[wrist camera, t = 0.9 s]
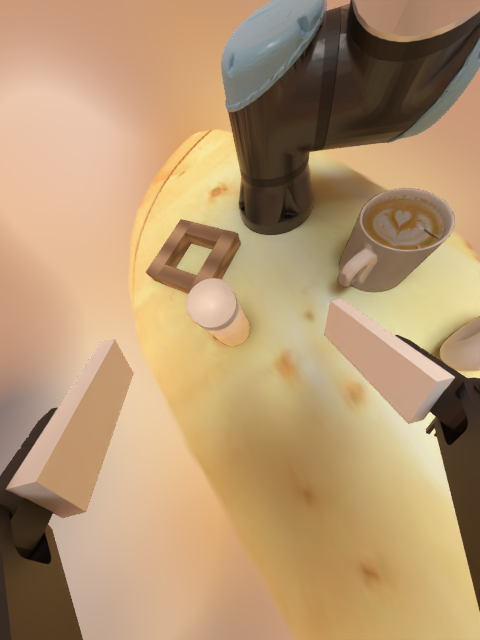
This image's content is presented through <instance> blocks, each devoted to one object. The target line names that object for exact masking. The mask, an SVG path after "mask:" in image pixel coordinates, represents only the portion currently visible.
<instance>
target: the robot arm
mask: <svg viewBox="0 0 480 640" xmlns="http://www.w3.org/2000/svg"><path fill="white" fill-rule="evenodd" d="M326 6H327V1H326V0H272V1H270V2H269V3H267V4H266V5H264V6H263V7H261V8H260V9H258V10H257V11H256V12H254V13H253V14H252V15H251V16H249V17H248V18H247V19H246V20H245V21H244V22H243V23H242V24H241V25H240V26H239V27H238V28H237V29H236V30H235V31H234V33H233V34H232V35H231V37H230V38H229V40H228V42H227V44H226V46H225V49H224V51H223V55H222V63H221V68H222V76H223V83H224V89H225V95H226V108H227V110H228V112H229V117H230V122H231V127H232V132H233V137H234V142H235V147H236V152H237V157H238V162H239V166H240V171H241V186H240V196H239V210H240V214H241V218H242V220H243V222H244V223H245V225H246V226H247V227H248V228H250V229H251V230H253V231H255V232H258V233H262V234H279V233H284V232H287V231H289V230H292V229H294V228H296V227H297V226H299V225H300V224H301V223H303V222H304V221H305V220H306V218H307V217H308V216H309V214H310V212H311V210H312V207H313V200H314V187H313V183H312V178H311V173H310V169H309V164H308V160H309V152H312V151H319V150H327V149H335V148H342V147H352V146H360V145H368V144H376V143H385V142H386V143H389V142H393V141H395V140H397V139H401V138H406V137H410V136H414V135H417V134H419V133H421V132H423V131H425V130H426V129H428V128H429V127H431V126H432V125H433V124H435V123H436V122H437V121H438V120H439V119H440V118H441V117H442V116H443V115H444V114H445V113H446V112H447V111H448V110H449V109H450V108H451V107H452V106H453V104H454V103H455V102H456V101H457V100H458V98H459V97H460V96H461V94H462V93H463V92H464V90H465V89H466V88H467V86H468V85H469V83H470V82H471V80H472V79H473V77H474V76H475V74H476V72H477V71H478V69H479V67H480V0H351V1H350V4H347V5H344V6H341V7H338V8H335V9H332V10H328V11H326ZM324 335H325V336H326V337H327V338H328V339H329V340H330V342H331V343H332V344H333V345H334V346H335V347H336V348H337V349H338V350H339V351H340V352H341V353H342V354H343V355H344V356H345V357H346V358H347V360H348V361H349V362H350V363H351V364H352V365H353V366H354V367H355V368H356V369H357V370H358V371H359V372H360V373H361V374H362V375H363V376H364V378H365V379H366V380H367V381H368V382H369V383H370V384H371V385H372V386H373V387H374V388H375V389H376V390H377V391H378V392H379V393H380V394H381V396H382V397H383V398H384V399H385V400H386V401H387V402H388V403H389V404H390V405H391V406H392V407H393V408H394V409H395V410H396V411H397V412H398V414H399V415H400V416H401V417H402V418H403V419H404V420H405V421H406V422H407V423H408V424H409V423H413V422H417V421H420V420H424V418H425V417H426V416H427V414H428V413H429V412H431V413H432V414H433V415H435V416H436V417H435V419H434V420H433V421H432V422H431V424H430V425H429V426H428V427H427V429H426V433H428V434H430V433H431V432H432V430H433V429H434V428H435V430H436V433H435V434H434V436H436V437H437V439H438V443H439V447H440V451H441V455H442V459H443V463H444V467H445V471H446V475H447V480H448V484H449V488H450V492H451V496H452V500H453V504H454V508H455V512H456V516H457V520H458V525H459V529H460V533H461V537H462V541H463V545H464V549H465V553H466V557H467V561H468V565H469V569H470V574H471V578H472V582H473V586H474V590H475V594H476V598H477V602H478V606H479V610H480V378H466V377H465V376H463V375H461V374H460V373H458V372H457V371H455V370H454V369H452V368H451V367H449V366H448V365H446V364H445V363H443V362H442V361H440V360H439V359H437V358H436V357H434V356H433V355H431V354H429V353H428V352H427V351H425V350H424V349H421V348H420V347H419V346H418V345H416V344H415V343H413V342H412V341H410V340H408V339H406V338H403V337H401V336H399V335H393V334H392V333H390V332H389V331H388V330H386V329H385V328H383V327H382V326H380V325H379V324H377V323H376V322H374V321H373V320H372V319H370V318H369V317H367V316H366V315H364V314H363V313H361V312H360V311H359V310H357V309H356V308H354V307H353V306H351V305H350V304H348V303H347V302H345V301H344V300H343V299H337V300H332V301H330V306H329V312H328V317H327V323H326V328H325V334H324ZM132 376H133V372H132V370H131V368H130V366H129V364H128V362H127V361H126V359H125V357H124V356H123V353H122V352H121V350H120V348H119V346H118V344H117V343H116V341H115V340H110V341H104V342H100V344H99V345H98V347H97V348H96V350H95V352H94V353H93V354H92V356H91V358H90V359H89V361H88V362H87V364H86V365H85V367H84V368H83V370H82V371H81V373H80V375H79V376H78V378H77V379H76V381H75V382H74V384H73V385H72V387H71V389H70V390H69V392H68V393H67V395H66V396H65V398H64V400H63V401H62V402H61V404H60V406H59V407H58V408H53V409H51V410H50V411H49V412H48V413H47V414H46V415H44V416H43V417H42V418H41V419H40V420H39V421H38V423H37V424H36V425H35V427H34V428H33V430H32V431H31V433H30V434H29V437H28V438H26V440H25V441H24V443H23V444H22V446H21V449H19V450H18V451H17V453H16V454H15V456H14V457H13V459H12V460H11V461H10V463H9V464H8V466H7V467H6V469H5V470H4V471H3V473H2V474H1V476H0V640H83V638H82V635H81V631H80V627H79V624H78V620H77V617H76V613H75V610H74V606H73V603H72V599H71V595H70V592H69V588H68V584H67V581H66V577H65V574H64V570H63V567H62V563H61V559H60V556H59V553H58V549H57V545H56V542H55V538H54V534H53V531H52V529H51V527H50V526H49V525H48V523H49V520H50V518H51V516H52V514H53V513H54V514H56V515H58V516H60V517H62V518H65V517H69V516H72V515H76V514H80V513H83V512H86V510H87V507H88V504H89V502H90V499H91V496H92V493H93V490H94V487H95V484H96V481H97V478H98V475H99V472H100V470H101V466H102V464H103V461H104V458H105V455H106V452H107V449H108V446H109V443H110V440H111V438H112V435H113V432H114V429H115V426H116V423H117V420H118V417H119V414H120V411H121V408H122V405H123V402H124V400H125V397H126V394H127V391H128V388H129V385H130V382H131V379H132Z"/></svg>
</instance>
